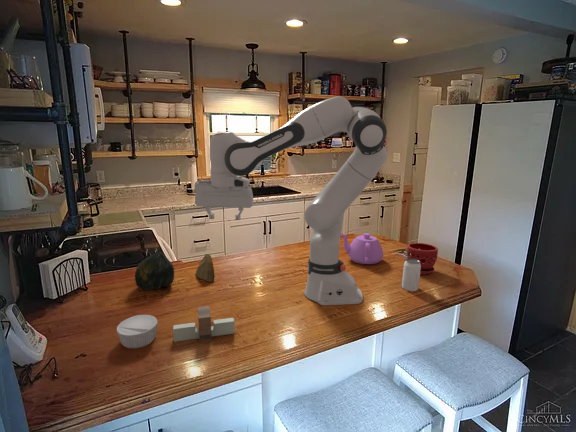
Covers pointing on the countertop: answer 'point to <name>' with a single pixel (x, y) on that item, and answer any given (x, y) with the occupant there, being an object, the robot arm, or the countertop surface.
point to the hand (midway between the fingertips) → (224, 219)
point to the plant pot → (423, 256)
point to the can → (411, 274)
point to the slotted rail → (190, 332)
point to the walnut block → (204, 324)
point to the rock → (206, 269)
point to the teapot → (364, 249)
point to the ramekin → (137, 331)
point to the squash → (154, 272)
